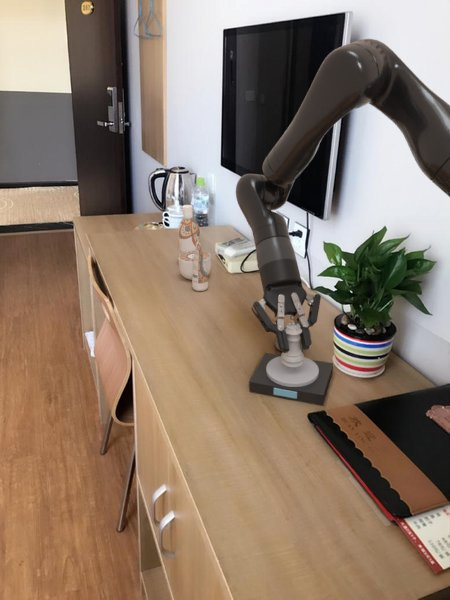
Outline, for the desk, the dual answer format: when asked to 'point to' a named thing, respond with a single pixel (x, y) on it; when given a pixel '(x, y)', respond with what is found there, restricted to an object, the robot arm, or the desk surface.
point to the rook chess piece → (293, 347)
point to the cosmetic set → (192, 252)
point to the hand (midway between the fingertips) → (296, 350)
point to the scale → (292, 379)
